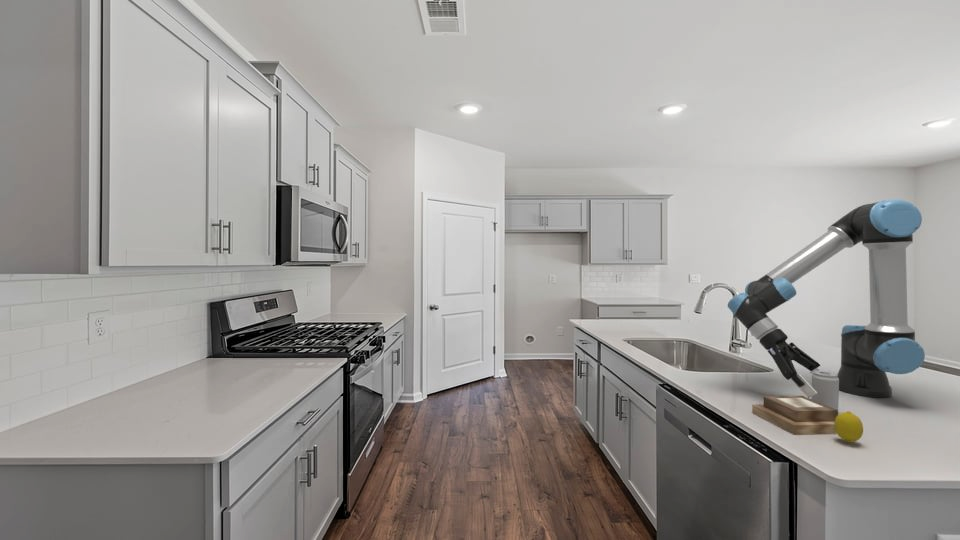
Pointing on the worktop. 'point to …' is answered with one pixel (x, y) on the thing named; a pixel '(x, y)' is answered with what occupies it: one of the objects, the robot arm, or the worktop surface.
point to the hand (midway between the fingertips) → (822, 391)
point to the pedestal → (797, 414)
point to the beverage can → (826, 388)
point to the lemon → (848, 426)
